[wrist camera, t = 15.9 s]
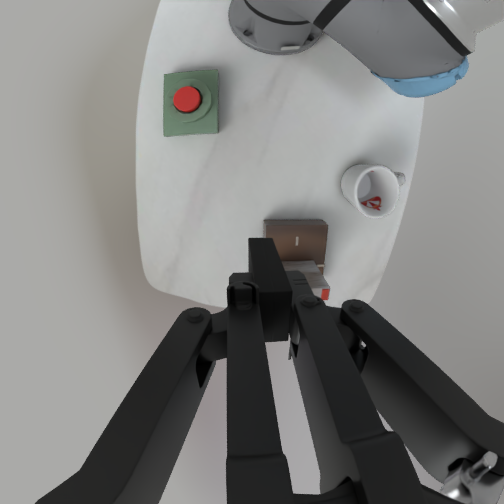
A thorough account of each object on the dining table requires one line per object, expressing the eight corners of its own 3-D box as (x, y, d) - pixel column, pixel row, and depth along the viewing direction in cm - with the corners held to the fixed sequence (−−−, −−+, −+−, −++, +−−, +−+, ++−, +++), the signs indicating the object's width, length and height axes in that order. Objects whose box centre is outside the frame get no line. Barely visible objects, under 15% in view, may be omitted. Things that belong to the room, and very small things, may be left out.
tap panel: (263, 219, 44) (265, 225, 41) (323, 219, 44) (329, 225, 41) (261, 285, 48) (263, 294, 46) (316, 283, 49) (321, 291, 46)
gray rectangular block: (276, 272, 44) (286, 303, 36) (277, 261, 43) (287, 290, 35) (312, 271, 45) (329, 300, 36) (313, 260, 44) (331, 288, 35)
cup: (382, 150, 40) (408, 154, 33) (392, 193, 43) (418, 203, 36) (328, 168, 41) (348, 174, 34) (342, 212, 44) (361, 226, 37)
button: (176, 89, 32) (173, 87, 30) (201, 87, 32) (199, 85, 30) (175, 113, 33) (173, 112, 32) (200, 111, 33) (199, 109, 32)
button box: (167, 77, 34) (161, 71, 30) (218, 73, 34) (216, 66, 31) (167, 136, 38) (160, 136, 34) (218, 133, 38) (216, 132, 34)
